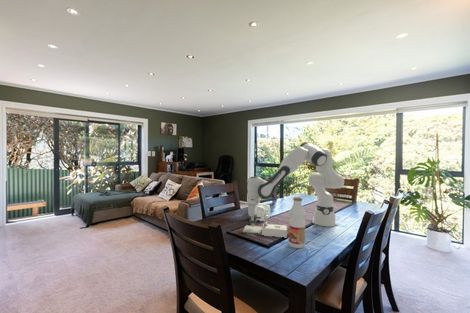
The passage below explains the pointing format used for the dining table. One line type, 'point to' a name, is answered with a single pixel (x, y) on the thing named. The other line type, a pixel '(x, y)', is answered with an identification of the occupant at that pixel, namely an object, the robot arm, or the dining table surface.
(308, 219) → the dining table surface
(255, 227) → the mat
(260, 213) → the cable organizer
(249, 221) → the plug
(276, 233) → the power strip
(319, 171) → the robot arm
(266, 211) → the clip
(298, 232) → the fruit juice
